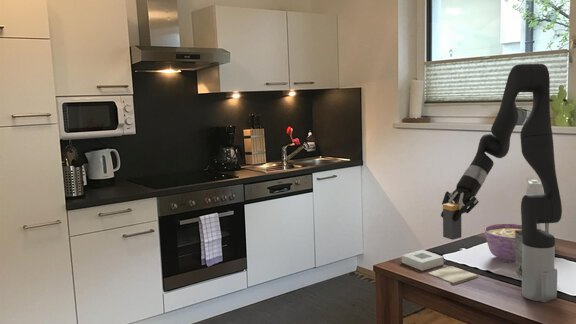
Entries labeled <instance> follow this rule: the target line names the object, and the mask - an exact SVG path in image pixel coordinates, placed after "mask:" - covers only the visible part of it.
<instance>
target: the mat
mask: <svg viewBox="0 0 576 324" xmlns="http://www.w3.org/2000/svg"><path fill="white" fill-rule="evenodd" d="M427 274H428V275H431V276H433V277H435V278H438V279H441V280H443V281H445V282H448V283H449V284H450V285H453V286H454V285H458V284H461V283H463V282H466V281H467V282H468V281H469V280H473V279H477V278H478V274H476V273H474V272H473V273H472V272H470V271H467V270H464V269H461V268H459V267H457V266H456V267H455V266H454V265H450V266H446V267H443V268H440V269H436V270H433V271H430V272H427Z"/></svg>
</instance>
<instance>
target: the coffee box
mask: <svg viewBox="0 0 576 324" xmlns="http://www.w3.org/2000/svg"><path fill="white" fill-rule="evenodd" d="M538 230H540V229H538ZM540 231H543V232H545V230H542V229H541V230H540ZM546 233H547V232H546ZM514 264H515V266H514V267H515V274H516V275H517V276H519V277H520V278H521V279H522V230H516V231H515V263H514Z"/></svg>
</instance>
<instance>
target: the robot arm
mask: <svg viewBox="0 0 576 324" xmlns="http://www.w3.org/2000/svg"><path fill="white" fill-rule="evenodd" d="M510 69H511V70H510V71H509V72H508V76H507V79H506V84H505V87H504V91H503V95H502V98H501V103H500V107H499V109H498V112H497V115H496V116H495V119H494V121H493V123H492V125H491V128H490V133H489V132H487V133H484V134H483V135H482V136H481V137H480V139H479V141H478V147H477V149H476V150H477V151H476V153H475V156H474V158H473V160H472V161H471V163H470V164H469V166H467V169H466V170H465V171H464V172H463V174H462V175H461V177H460V179H459V181H458V182H457V184H456V185H455V186H456V187H455V189H454V190H453V191H452V192H449V191H445V193H444V197H443V200H442V202H441V204H442V206H443V204H447V203H457V204H459V206H458V210H456V212H455V213H454V215H453V216H452V220H453V221H454V222H456V221H457V220H459V218H460V216H461V217H462V215H463V214H469V213H470V212H471V211H472V210H473V209H474V208H475V207H476V206H477V205H478V204H479V199H478V198H477V197H476V196H477V195H478V193H479V191H480V190H481V188H482V186H483V185H484V183H485V181H486V179H487V177H488V175H489V173H490V172H491V170H492V169H493V167H494V164H495V163H494V161H493V159H492V158H491V157H490V156H492V157H494V158H495V159H496V158H497V159H502V158H504V157H506V156H507V154H508V153H509V152H510V151H509V150H510V145H511V137H512V133H513V132H514V129H515V127H516V125H517V123H518V121H519V111H518V108H517V104H516V99H517V97H518V96H519V93H532V107H531V110H530V113H529V114H528V117H527V118H526V120H525V122H524V123H523V126H522V127H521V131H520V133H519V136H520V146H521V147H520V148H521V149H520V150H521V154H522V156H523V158H524V159H525V161H526V163H527V164H528V165H529V167H531V169H532V170H533V171H534V172H535V173H536V175H537V177H538V179H539V180H541V183H542V186H543V192H544V194H527V195H526V194H524V195H523V196H522V198H521V202H520V215H521V221H520V222H521V225H522V278H521V296H522V297H524V298H525V299H527V300H531V301H536V302H542V303H547V302H550V301H552V300H555V299H557V298H558V269H557V268H555V255H556V254H555V251H556V249H555V248H556V238H555V236H554V235H553V234H551V233H550V232H549V233H546V232H543V231H544V230H542V231H540V230H538V229H537V224H539V223H540V224H545V223H549V224H556V223H559V222H560V221H561V220H562V217H563V216H562V213H563V206H562V200H561V195H560V189H559V184H558V178H557V170H556V161H555V149H554V137H553V130H552V129H553V128H552V120H551V107H550V100H551V99H550V97H551V95H550V94H551V93H550V90H551V89H550V87H551V85H550V84H551V82H550V81H551V80H550V71H549V68H548V67H547V65H545V64H544V63H537V62H536V63H516V64H515V65H513V67H511V68H510ZM487 154H488V155H490V156H488V155H487ZM440 217H441V218H442V219H443V210H442V211H441V213H440Z"/></svg>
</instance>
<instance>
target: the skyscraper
mask: <svg viewBox="0 0 576 324" xmlns="http://www.w3.org/2000/svg"><path fill="white" fill-rule="evenodd" d="M526 182H527V185H526V189H525V195H527V194H544V190H543V186H542V183H541V180H540V179H539V178H535V177H526ZM544 227H545V229H544V231H545V232H547V233H549V234H550V232H549V230H550V229H549V228H550V223H544ZM537 229H540V230H542V227H541V223H539V224H537Z"/></svg>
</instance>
